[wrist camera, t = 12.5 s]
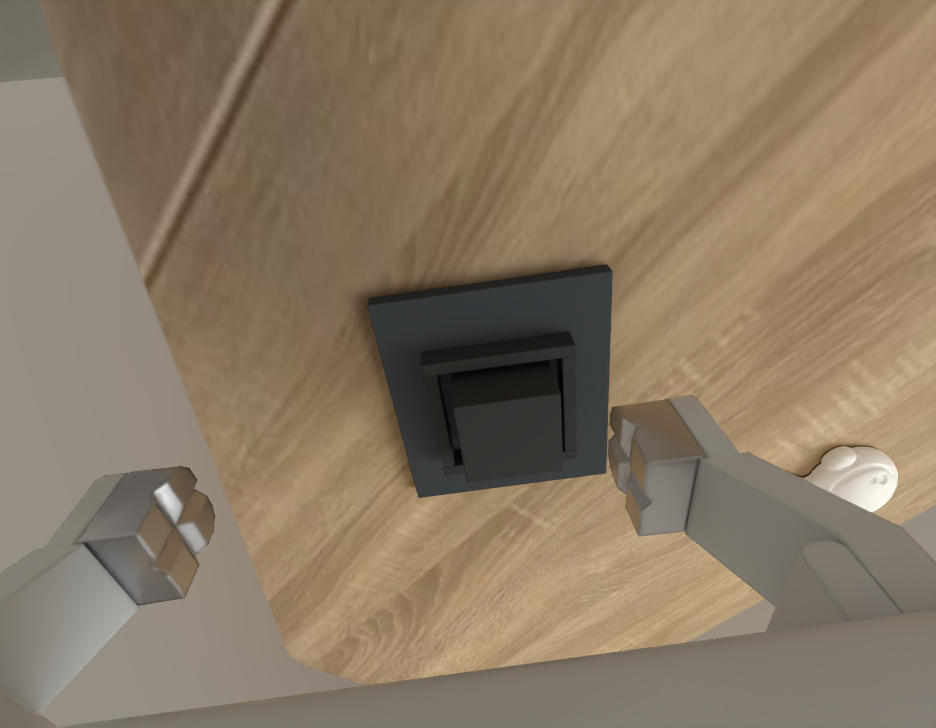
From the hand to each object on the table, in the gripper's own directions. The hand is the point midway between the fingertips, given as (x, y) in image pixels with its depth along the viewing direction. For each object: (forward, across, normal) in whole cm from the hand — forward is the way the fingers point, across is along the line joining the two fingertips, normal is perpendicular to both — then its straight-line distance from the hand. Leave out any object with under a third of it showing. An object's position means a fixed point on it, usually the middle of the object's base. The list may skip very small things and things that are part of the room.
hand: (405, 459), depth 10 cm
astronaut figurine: (+19, -27, +28) cm, 43 cm away
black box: (+18, -3, +13) cm, 23 cm away
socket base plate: (+19, -3, +13) cm, 24 cm away
